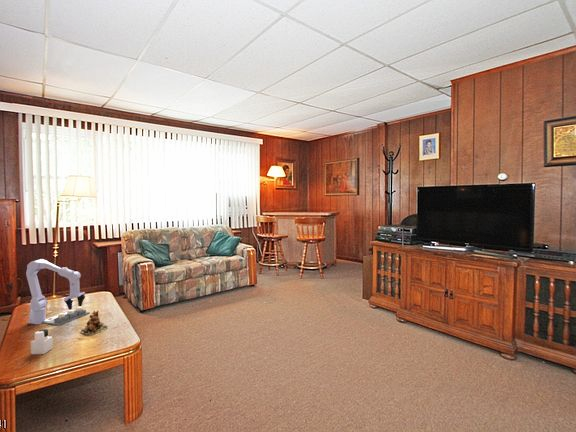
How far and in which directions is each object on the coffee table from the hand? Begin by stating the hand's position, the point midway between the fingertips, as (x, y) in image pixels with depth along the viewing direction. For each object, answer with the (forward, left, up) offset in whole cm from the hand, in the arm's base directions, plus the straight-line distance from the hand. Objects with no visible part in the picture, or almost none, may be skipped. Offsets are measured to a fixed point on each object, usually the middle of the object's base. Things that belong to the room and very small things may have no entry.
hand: (75, 307), depth 222 cm
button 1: (-6, -5, -6) cm, 10 cm away
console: (-11, +2, -9) cm, 14 cm away
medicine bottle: (+24, -41, -9) cm, 49 cm away
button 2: (-6, +9, -6) cm, 12 cm away
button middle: (-6, +2, -6) cm, 9 cm away
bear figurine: (+27, -10, -10) cm, 31 cm away
